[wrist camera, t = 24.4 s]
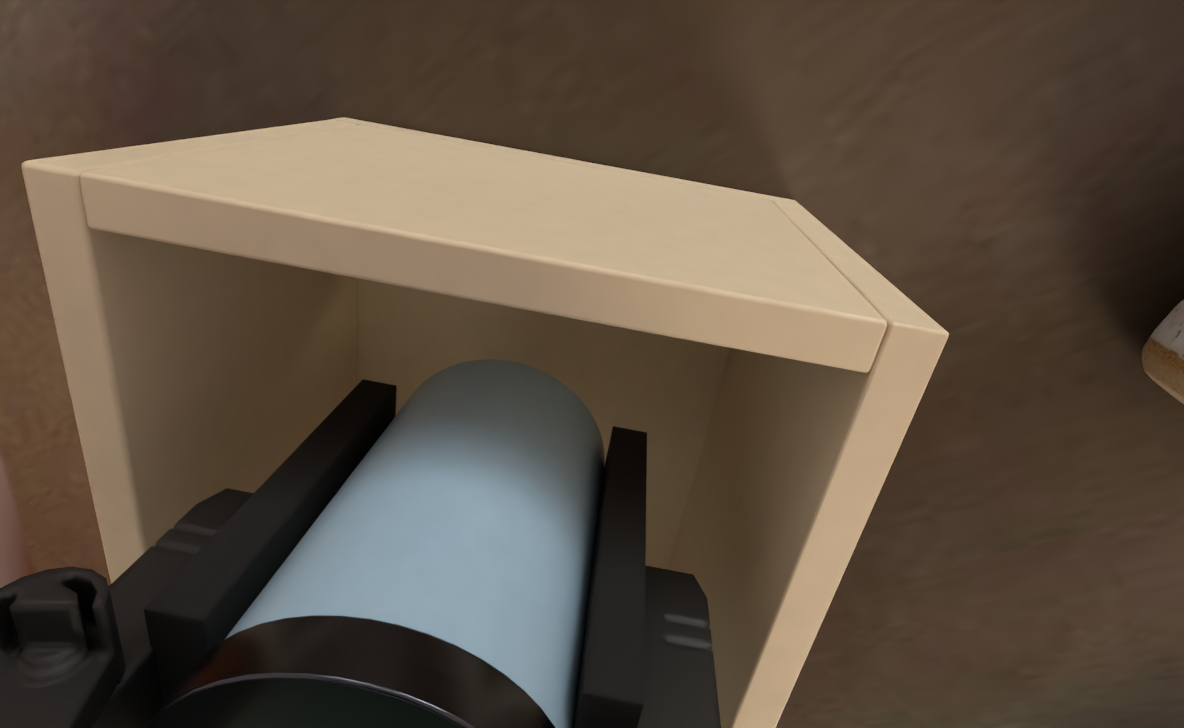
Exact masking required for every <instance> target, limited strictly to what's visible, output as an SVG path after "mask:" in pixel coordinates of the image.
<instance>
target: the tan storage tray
mask: <svg viewBox="0 0 1184 728" xmlns="http://www.w3.org/2000/svg"><path fill="white" fill-rule="evenodd" d="M21 168H22V172H23V177H24V181H25V186H26V191H27V195H28V200H29V205H30V209H31V214H32V219H33V223H34V228H35V232H36V237H37V242H38V246H39V251H40V256H41V260H42V265H43V270H44V274H45V279H46V283H47V288H48V293H49V297H50V302H51V307H52V311H53V316H54V320H55V325H56V330H57V334H58V339H59V344H60V348H61V353H62V358H63V362H64V367H65V371H66V376H67V381H68V385H69V390H70V395H71V399H72V404H73V409H74V413H75V418H76V422H77V427H78V432H79V436H80V441H81V446H82V450H83V455H84V459H85V464H86V469H87V473H88V478H89V483H90V487H91V492H92V497H93V501H94V506H95V510H96V515H97V520H98V524H99V529H100V534H101V538H102V543H103V548H104V552H105V557H106V561H107V566H108V571H109V575H110V580H111V584H112V583H113V582H114V581H115V580H116V579H117V578H118V577H119V576H120V575H121V574H122V573H123V572H125V571H126V570H127V569H128V568H129V567H130V566H131V565H132V564H133V563H134V562H135V561H136V560H137V559H138V558H139V557H141V556H142V555H143V554H144V553H145V552H146V551H147V550H148V549H149V548H150V547H151V546H153V547H154V546H155V545H156V542H157V541H158V540H159V539H160V538H161V537H162V536H163V535H164V534H165V533H166V532H167V531H168V530H169V529H173V528H174V526H175V524H176V523H177V522H178V521H179V520H180V519H181V518H182V517H183V516H184V515H185V514H186V513H187V512H188V511H190V510H191V509H192V508H193V507H194V506H195V505H196V504H197V503H199V502H201V501H203V500H205V499H207V498H209V497H211V496H213V495H215V494H217V493H219V492H221V491H222V490H224V489H226V488H229V489H234V490H239V491H244V492H250V493H255V492H256V490H257V489H258V488H259V487H260V486H261V485H262V484H263V483H264V482H265V481H266V480H267V479H268V478H269V477H270V476H271V475H272V474H273V473H274V472H275V471H276V470H277V468H278V467H279V466H280V465H281V464H282V463H283V462H284V461H285V460H286V459H287V458H288V457H289V456H290V455H291V454H292V453H293V452H294V451H295V450H296V449H297V448H298V447H299V445H300V444H301V443H302V442H303V441H304V440H305V439H306V438H307V437H308V436H309V435H310V434H311V433H312V432H313V431H314V430H315V429H316V428H317V427H318V426H319V425H320V423H321V422H322V421H323V420H324V419H325V418H326V417H327V416H328V415H329V414H330V413H331V412H332V411H333V410H334V409H335V408H336V407H337V406H338V405H339V404H340V403H341V402H342V400H343V399H344V398H345V397H346V396H347V395H348V394H349V393H350V392H351V391H352V390H353V389H354V388H355V387H356V386H357V385H358V384H359V383H360V382H361V381H362V380H363V379H364V380H369V381H375V382H380V383H385V384H391V385H396V386H397V391H396V415H397V413H398V412H399V411H400V410H401V408H402V407H403V406H404V404H405V403H406V402H407V400H408V399H409V398H410V396H411V395H412V394H413V393H414V392H415V390H416V389H417V388H418V387H419V386H420V385H421V384H422V383H423V382H425V381H426V380H427V379H428V378H430V377H431V376H433V375H434V374H436V373H437V372H439V371H441V370H443V369H445V368H448V367H450V366H453V365H456V364H459V363H463V362H467V361H474V360H485V359H496V360H507V361H512V362H517V363H522V364H525V365H528V366H531V367H534V368H536V369H538V370H541V371H543V372H545V373H547V374H549V375H551V376H552V377H554V378H555V379H557V380H559V381H560V382H562V383H563V384H564V385H565V386H567V387H568V388H569V389H570V390H572V391H573V392H574V393H575V394H576V395H577V397H578V398H579V399H580V400H581V401H582V402H583V403H584V405H585V406H586V407H587V409H588V410H589V411H590V413H591V414H592V416H593V418H594V420H595V422H596V423H597V426H598V428H599V431H600V433H601V436H602V441H603V445H604V453H605V462H606V457H607V452H608V447H609V442H610V438H611V433H612V428H613V426H615V427H620V428H626V429H631V430H636V431H642V432H647V478H646V561H645V565H646V566H651V567H656V568H661V569H667V570H672V571H677V572H683V573H688V574H693V575H694V576H695V578H696V580H697V582H698V583H699V585H700V587H701V589H702V590H703V592H704V594H705V596H706V597H707V601H708V610H709V619H710V629H711V638H712V651H713V656H714V666H715V675H716V684H717V694H718V703H719V712H720V721H721V728H776V725H777V723H778V721H779V718H780V716H781V714H782V712H783V709H784V707H785V705H786V703H787V700H788V698H789V696H790V694H791V691H792V689H793V687H794V685H795V682H796V680H797V678H798V676H799V673H800V671H801V669H802V666H803V664H804V662H805V660H806V657H807V655H808V653H809V651H810V648H811V646H812V644H813V642H814V639H815V637H816V635H817V633H818V630H819V628H820V626H821V624H822V621H823V619H824V617H825V614H826V612H827V610H828V608H829V605H830V603H831V601H832V599H833V596H834V594H835V592H836V590H837V587H838V585H839V583H840V581H841V578H842V576H843V574H844V572H845V569H846V567H847V565H848V562H849V560H850V558H851V556H852V553H853V551H854V549H855V547H856V544H857V542H858V540H859V538H860V535H861V533H862V531H863V529H864V526H865V524H866V522H867V520H868V517H869V515H870V513H871V510H872V508H873V506H874V504H875V501H876V499H877V497H878V495H879V492H880V490H881V488H882V486H883V483H884V481H885V479H886V477H887V474H888V472H889V470H890V468H891V465H892V463H893V461H894V458H895V456H896V454H897V452H898V449H899V447H900V445H901V443H902V440H903V438H904V436H905V434H906V431H907V429H908V427H909V425H910V422H911V420H912V418H913V416H914V413H915V411H916V409H917V406H918V404H919V402H920V400H921V397H922V395H923V393H924V391H925V388H926V386H927V384H928V382H929V379H930V377H931V375H932V373H933V370H934V368H935V366H936V364H937V361H938V359H939V357H940V355H941V352H942V350H943V348H944V345H945V343H946V341H947V339H948V336H949V333H948V332H947V331H946V330H945V329H943V328H942V327H941V326H940V325H939V324H938V323H936V322H935V321H934V320H933V319H932V318H931V317H930V316H928V315H927V314H926V313H925V312H924V311H923V310H921V309H920V308H919V307H918V306H917V305H916V304H914V303H913V302H912V301H911V300H910V299H909V298H908V297H906V296H905V295H904V294H903V293H902V292H901V291H899V290H898V289H897V288H896V287H895V286H894V285H892V284H891V283H890V282H889V281H888V280H887V279H886V278H884V277H883V276H882V275H881V274H880V273H879V272H877V271H876V270H875V269H874V268H873V267H872V266H871V265H869V264H868V263H867V262H866V261H865V260H864V259H862V258H861V257H860V256H859V255H858V254H857V253H855V252H854V251H853V250H852V249H851V248H850V247H849V246H847V245H846V244H845V243H844V242H843V241H842V240H840V239H839V238H838V237H837V236H836V235H835V234H833V233H832V232H831V231H830V230H829V229H828V228H827V227H825V226H824V225H823V224H822V223H821V222H820V221H818V220H817V219H816V218H815V217H814V216H813V215H812V214H810V213H809V212H808V211H807V210H806V209H805V208H803V207H802V206H801V205H800V204H799V203H797V202H796V201H795V200H791V199H786V198H780V197H775V196H769V195H764V194H758V193H753V192H747V191H742V190H737V189H731V188H726V187H720V186H715V185H709V184H704V183H699V182H693V181H688V180H682V179H677V178H671V177H666V176H661V175H655V174H650V173H644V172H639V171H633V170H628V169H622V168H617V167H612V166H606V165H601V164H595V163H590V162H584V161H579V160H574V159H568V158H563V157H557V156H552V155H546V154H541V153H536V152H530V151H525V150H519V149H514V148H508V147H503V146H498V145H492V144H487V143H481V142H476V141H470V140H465V139H459V138H454V137H449V136H443V135H438V134H432V133H427V132H421V131H416V130H411V129H405V128H400V127H394V126H389V125H383V124H378V123H373V122H367V121H362V120H356V119H351V118H345V117H343V118H335V119H331V120H324V121H316V122H309V123H301V124H294V125H287V126H279V127H272V128H264V129H257V130H249V131H242V132H235V133H227V134H220V135H212V136H205V137H198V138H190V139H183V140H175V141H168V142H161V143H153V144H146V145H138V146H131V147H124V148H116V149H109V150H101V151H94V152H87V153H79V154H72V155H64V156H57V157H50V158H42V159H35V160H28V161H25V162H23V163H22V167H21Z"/></svg>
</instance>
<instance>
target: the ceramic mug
mask: <svg viewBox="0 0 1184 728" xmlns="http://www.w3.org/2000/svg"><path fill="white" fill-rule="evenodd" d="M1142 364H1143V368H1144V372H1145V373H1146V374H1147V375H1148V376H1149V377H1150V378H1151V379H1152V380H1154V381H1155V382H1156V383H1157V384H1158V385H1159V386H1161V387H1162V388H1163V389H1164V390H1165V391H1167V392H1168V393H1169V394H1171V395H1172V396H1173V397H1175V398H1176V399H1177V400H1178V401H1180V402H1181V403H1182V404H1184V300H1182V301H1181V302H1180V303H1179V304H1178V305H1177V306H1176V307H1174V309H1173V310H1172V311H1171V312H1170V313H1169V314H1168V315H1167V317H1166V318H1165V319H1164V320H1163V321H1162V322H1161V323H1160V325H1159V326H1158V327H1157V328H1156V329H1155V330H1154V331H1153V333H1152V334H1151V336H1150V338H1149V339H1148V341H1147V342H1146V344H1145V345H1144V347H1143V350H1142Z"/></svg>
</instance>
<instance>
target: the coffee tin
mask: <svg viewBox="0 0 1184 728" xmlns="http://www.w3.org/2000/svg"><path fill="white" fill-rule="evenodd" d="M604 466H605V453H604V445H603V441H602V436H601V433H600V431H599V428H598V426H597V423H596V422H595V420H594V418H593V416H592V414H591V413H590V411H589V410H588V409H587V407H586V406H585V405H584V403H583V402H582V401H581V400H580V399H579V398H578V397H577V395H576V394H575V393H574V392H573V391H572V390H570V389H569V388H568V387H567V386H565V385H564V384H563V383H562V382H560V381H559V380H557V379H555V378H554V377H552V376H551V375H549V374H547V373H545V372H543V371H541V370H538V369H536V368H534V367H531V366H528V365H525V364H522V363H517V362H512V361H507V360H496V359H485V360H474V361H467V362H463V363H459V364H456V365H453V366H450V367H448V368H445V369H443V370H441V371H439V372H437V373H436V374H434V375H433V376H431V377H430V378H428V379H427V380H426V381H425V382H423V383H422V384H421V385H420V386H419V387H418V388H417V389H416V390H415V392H414V393H413V394H412V395H411V396H410V398H409V399H408V400H407V402H406V403H405V404H404V406H403V407H402V408H401V410H400V411H399V412H398V413H397V415H396V416H395V417H394V419H393V420H392V421H391V423H390V424H389V425H388V427H387V428H386V429H385V430H384V432H383V433H382V434H381V436H380V437H379V438H378V440H377V441H376V442H375V443H374V445H373V446H372V447H371V449H370V450H369V451H368V453H367V454H366V455H365V457H364V458H363V459H362V460H361V462H360V463H359V464H358V466H357V467H356V468H355V470H354V471H353V472H352V474H351V475H350V476H349V477H348V479H347V480H346V481H345V483H344V484H343V485H342V487H341V488H340V489H339V491H338V492H337V493H336V494H335V496H334V497H333V498H332V500H331V501H330V502H329V504H328V505H327V506H326V508H325V509H324V510H323V511H322V513H321V514H320V515H319V517H318V518H317V519H316V521H315V522H314V523H313V525H312V526H311V527H310V528H309V530H308V531H307V532H306V534H305V535H304V536H303V538H302V539H301V540H300V542H299V543H298V544H297V545H296V547H295V548H294V549H293V551H292V552H291V553H290V555H289V556H288V557H287V559H286V560H285V561H284V562H283V564H282V565H281V566H280V568H279V569H278V570H277V572H276V573H275V574H274V575H273V577H272V578H271V579H270V581H269V582H268V583H267V585H266V586H265V587H264V589H263V590H262V591H261V592H260V594H259V595H258V596H257V598H256V599H255V600H254V602H253V603H252V604H251V606H250V607H249V608H248V609H247V611H246V612H245V613H244V615H243V616H242V617H241V619H240V620H239V621H238V623H237V624H236V625H235V626H234V628H233V629H232V630H231V632H230V633H229V634H228V636H227V637H226V638H225V640H223V641H221V642H219V643H218V644H216V645H215V646H214V647H213V648H211V649H210V650H209V651H208V652H206V653H205V654H204V655H203V656H202V657H201V658H200V659H199V660H198V661H197V663H196V664H195V665H194V666H193V667H192V668H191V670H190V671H189V672H188V673H187V675H186V676H185V677H184V679H183V680H182V681H181V682H180V684H179V685H178V686H177V688H176V689H175V690H174V691H173V693H172V694H171V695H170V696H169V698H168V699H167V700H166V702H165V703H164V704H163V705H162V707H161V708H160V709H159V710H158V712H157V713H156V714H155V716H154V717H153V718H152V719H151V721H150V722H149V723H148V725H147V726H146V728H573V722H574V713H575V705H576V697H577V689H578V680H579V672H580V664H581V655H582V647H583V639H584V631H585V622H586V614H587V606H588V598H589V589H590V581H591V573H592V565H593V556H594V548H595V540H596V531H597V523H598V515H599V507H600V498H601V490H602V482H603V474H604Z"/></svg>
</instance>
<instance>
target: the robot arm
mask: <svg viewBox="0 0 1184 728" xmlns="http://www.w3.org/2000/svg"><path fill="white" fill-rule="evenodd" d="M396 391H397V386H396V385H391V384H385V383H380V382H375V381H369V380H364V379H363V380H362V381H361V382H360V383H359V384H358V385H357V386H356V387H355V388H354V389H353V390H352V391H351V392H350V393H349V394H348V395H347V396H346V397H345V398H344V399H343V400H342V402H341V403H340V404H339V405H338V406H337V407H336V408H335V409H334V410H333V411H332V412H331V413H330V414H329V415H328V416H327V417H326V418H325V419H324V420H323V421H322V422H321V423H320V425H319V426H318V427H317V428H316V429H315V430H314V431H313V432H312V433H311V434H310V435H309V436H308V437H307V438H306V439H305V440H304V441H303V442H302V443H301V444H300V445H299V447H298V448H297V449H296V450H295V451H294V452H293V453H292V454H291V455H290V456H289V457H288V458H287V459H286V460H285V461H284V462H283V463H282V464H281V465H280V466H279V467H278V468H277V470H276V471H275V472H274V473H273V474H272V475H271V476H270V477H269V478H268V479H267V480H266V481H265V482H264V483H263V484H262V485H261V486H260V487H259V488H258V489H257V490H256V492H255V493H250V492H244V491H239V490H234V489H229V488H226V489H224V490H222V491H221V492H219V493H217V494H215V495H213V496H211V497H209V498H207V499H205V500H203V501H201V502H199V503H197V504H196V505H195V506H194V507H193V508H192V509H191V510H190V511H188V512H187V513H186V514H185V515H184V516H183V517H182V518H181V519H180V520H179V521H178V522H177V523H176V524H175V526H174V528H173V529H169V530H168V531H167V532H166V533H165V534H164V535H163V536H162V537H161V538H160V539H159V540H158V541H157V542H156V545H155V546H154V547H153V546H151V547H150V548H149V549H148V550H147V551H146V552H145V553H144V554H143V555H142V556H141V557H139V558H138V559H137V560H136V561H135V562H134V563H133V564H132V565H131V566H130V567H129V568H128V569H127V570H126V571H125V572H123V573H122V574H121V575H120V576H119V577H118V578H117V579H116V580H115V581H114V582H113V583H112V584H111V585H110V586H109V587H108V584H107V581H106V578H105V577H103V576H101V575H100V574H98V573H97V572H95V571H94V570H90V569H84V568H77V567H66V568H57V569H48V570H44V571H41V572H38V573H35V574H31V575H28V576H25V577H22V578H20V579H18V580H16V581H14V582H12V583H10V584H8V585H6V586H4V587H2V588H0V728H146V726H147V725H148V723H149V722H150V721H151V719H152V718H153V717H154V716H155V714H156V713H157V712H158V710H159V709H160V708H161V707H162V705H163V704H164V703H165V702H166V700H167V699H168V698H169V696H170V695H171V694H172V693H173V691H174V690H175V689H176V688H177V686H178V685H179V684H180V682H181V681H182V680H183V679H184V677H185V676H186V675H187V673H188V672H189V671H190V670H191V668H192V667H193V666H194V665H195V664H196V663H197V661H198V660H199V659H200V658H201V657H202V656H203V655H204V654H205V653H206V652H208V651H209V650H210V649H211V648H213V647H214V646H215V645H216V644H218V643H219V642H221V641H223V640H225V638H226V637H227V636H228V634H229V633H230V632H231V630H232V629H233V628H234V626H235V625H236V624H237V623H238V621H239V620H240V619H241V617H242V616H243V615H244V613H245V612H246V611H247V609H248V608H249V607H250V606H251V604H252V603H253V602H254V600H255V599H256V598H257V596H258V595H259V594H260V592H261V591H262V590H263V589H264V587H265V586H266V585H267V583H268V582H269V581H270V579H271V578H272V577H273V575H274V574H275V573H276V572H277V570H278V569H279V568H280V566H281V565H282V564H283V562H284V561H285V560H286V559H287V557H288V556H289V555H290V553H291V552H292V551H293V549H294V548H295V547H296V545H297V544H298V543H299V542H300V540H301V539H302V538H303V536H304V535H305V534H306V532H307V531H308V530H309V528H310V527H311V526H312V525H313V523H314V522H315V521H316V519H317V518H318V517H319V515H320V514H321V513H322V511H323V510H324V509H325V508H326V506H327V505H328V504H329V502H330V501H331V500H332V498H333V497H334V496H335V494H336V493H337V492H338V491H339V489H340V488H341V487H342V485H343V484H344V483H345V481H346V480H347V479H348V477H349V476H350V475H351V474H352V472H353V471H354V470H355V468H356V467H357V466H358V464H359V463H360V462H361V460H362V459H363V458H364V457H365V455H366V454H367V453H368V451H369V450H370V449H371V447H372V446H373V445H374V443H375V442H376V441H377V440H378V438H379V437H380V436H381V434H382V433H383V432H384V430H385V429H386V428H387V427H388V425H389V424H390V423H391V421H392V420H393V419H394V417H395V416H396ZM646 478H647V432H642V431H636V430H631V429H626V428H620V427H615V426H613V428H612V433H611V438H610V442H609V447H608V452H607V457H606V462H605V466H604V474H603V482H602V490H601V498H600V507H599V515H598V523H597V531H596V540H595V548H594V556H593V565H592V573H591V581H590V589H589V598H588V606H587V614H586V622H585V631H584V639H583V647H582V655H581V664H580V672H579V680H578V689H577V697H576V705H575V713H574V722H573V728H721V721H720V712H719V703H718V694H717V684H716V675H715V666H714V656H713V651H712V638H711V629H710V619H709V610H708V601H707V597H706V596H705V594H704V592H703V590H702V589H701V587H700V585H699V583H698V582H697V580H696V578H695V576H694V575H693V574H688V573H683V572H677V571H672V570H667V569H661V568H656V567H651V566H646V565H645V561H646Z"/></svg>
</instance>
